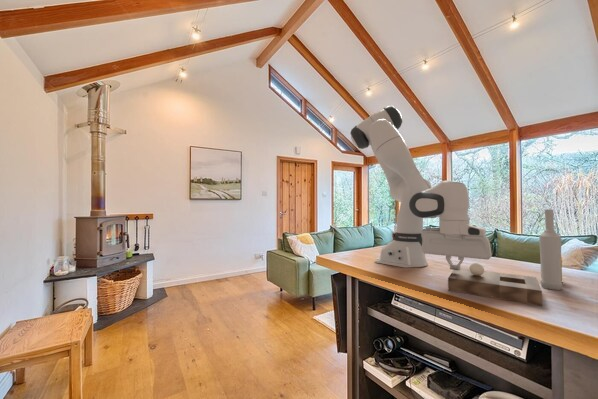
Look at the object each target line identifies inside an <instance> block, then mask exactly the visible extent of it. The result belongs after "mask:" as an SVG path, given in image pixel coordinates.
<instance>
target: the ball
mask: <svg viewBox="0 0 598 399" xmlns="http://www.w3.org/2000/svg"><path fill="white" fill-rule="evenodd" d="M484 268H485V267H484V266H483V265H482V264H481V263H478V262H474V263H471V264H470V265H469V268H468V269H469V270H470V272H471V273H472V274H473V275H475V276H480V275H482V274H483V273H484V271H485V269H484Z"/></svg>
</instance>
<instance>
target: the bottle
mask: <svg viewBox="0 0 598 399" xmlns="http://www.w3.org/2000/svg"><path fill="white" fill-rule="evenodd" d="M554 213H555V212H554V209H544V216H545V217H544V219H545V222H544V223H545V224H544V225H545V226H544V227H545V229H544V230H543V231H544V232H542V233H540V234H539V235H538V239H539V240H538V241H539V255H540V257H539V258H540V259H539V260H540V278H541V277H542V279H540V287H541V288H545V289H548V290H557V291H559V290H563V281H562V282H561V262H562V236H561V235H560V234H558V233H557V232H556V230H555V225H554V223H555V222H554Z"/></svg>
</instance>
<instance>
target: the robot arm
mask: <svg viewBox="0 0 598 399" xmlns="http://www.w3.org/2000/svg"><path fill="white" fill-rule="evenodd" d="M402 124H403V118H402V113H401V111H399V109H397V108H396V107H395V106H394V105H388V106H385V107H383V109H380V110H378V111H376V112H374V113H373V114H371V115H369V117H367V118H365V119H364V120H363V121H361V122H360V123H359V124H357V125H354V126H353V128H351V130H350V139H351V142H352V143H353V145H354V146H355V147H357V148H358V149H360V150H361V149H362V150H363V149H367V148H369V147H371V150H372V152H373V155H374V157H375V159H376V160H377V163H378V164H379V165H380V168H381V169H382V171H383V174H384V175H385V178H386V180H387V184H388V187H389V195H390V196H391V198H392V199H393V200H394V201H396V202H400V206H399V209H398V211H397V214H396V232H394V233H392V234H391V237H392V240H391V241H390V242H388V243H387V244H385V245H384V246H383V247H382V248H381V250H380V254H379V255H380V256H378V257H377V258H375V261H374V262H375V263H377V264H383V265H388V266H393V267H399V268H405V269H406V268H420V267H426V266H427V267H428V265H429V263H428V261H427V256H426V255H434V256H436V255H437V256H445V259H446V261H447V263H448V265H449V270H452V271H454V270H460V268H461V265H462V263H463V262H464V261H465V259H466V258H467V259H478V260H490V259H491V258H492V248H491V244H490V243H491V242H490V239H489V238H488V237H487V235H486V234H487V230H486V228H484V227H482V226H478V225H477V224H476V225H475V224H471V223H470V218H469V214H468V212H469V209H470V198H469V197H470V196H469V192H468V187H467V186H466V184H464V183H463V182H460V181H455V180H441V181H440V182H439V183H438V184H436V185H434V186H432V184H431V182H430V181H429V180H427V179H426V178H425V177H423V176H422V174H421V172H420V171H419V169H418V167H417V166H416V164H415V161H414V158H413V156H412V154H411V152H410V149H409V147H408V145H407V143H406V141H405V139H404V138H403V136H402V135H401V133H400V132H399V131H398V130H399V129H400V128H401V126H402ZM435 218H438V222H439V225H438V226H439V227H425V228H424V219H435ZM452 257H456V258H458V263H453V262H452V260H451V259H452Z"/></svg>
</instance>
